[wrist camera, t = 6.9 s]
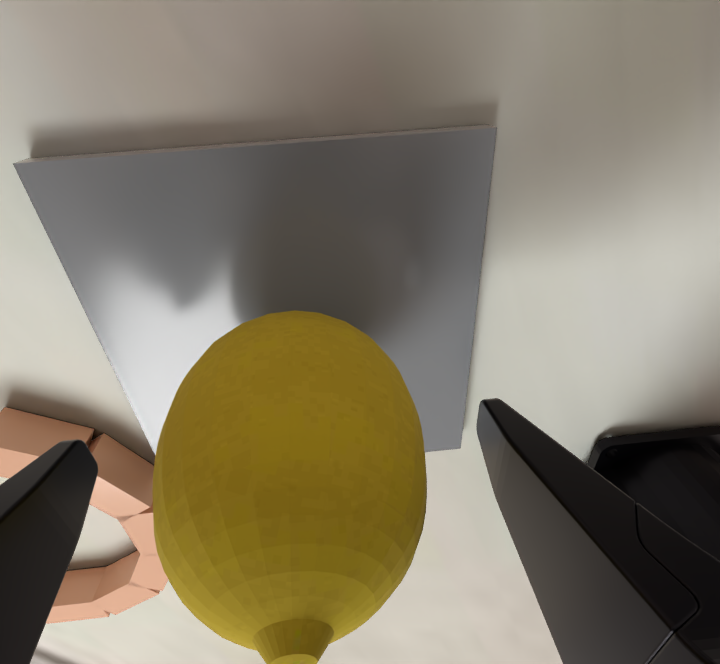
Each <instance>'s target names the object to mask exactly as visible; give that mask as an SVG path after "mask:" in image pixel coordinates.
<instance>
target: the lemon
mask: <svg viewBox="0 0 720 664" xmlns="http://www.w3.org/2000/svg"><path fill="white" fill-rule="evenodd" d="M152 495H153V523H154V537H155V543H156V549H157V553H158V556H159V559H160V562H161V564H162V567H163V570H164V572H165V574H166V576H167V578H168V579H169V581H170V583H171V585H172V587H173V588H174V590H175V591H176V593H177V595H178V596H179V598H180V599H181V601H182V603H183V604H184V605H185V606H186V607H187V608H188V609H189V610H190V611H191V612H192V613H193V614H194V616H195V617H196V618H198V619H199V620H200V621H201V622H202V623H204V624H205V625H206V626H207V627H208V628H210V629H211V630H213V631H214V632H215V633H217V634H218V635H219V636H221V637H222V638H225V639H227V640H229V641H231V642H233V643H236V644H238V645H241V646H244V647H246V648H249V649H253V650H257V651H258V652H259V653H260V655H261V656H262V658H263V659H264V661H265V662H266V664H317V662H318V661H319V659H320V657H321V656H322V654H323V653H324V651H325V649H326V648H327V646H328V644H330V643H332V642H334V641H336V640H338V639H340V638H342V637H344V636H345V635H347V634H349V633H350V632H352V631H354V630H355V629H357V628H358V627H359V626H361V625H362V624H364V623H365V622H366V621H367V620H368V619H369V618H370V617H372V616H373V615H374V614H375V613H376V612H377V611H378V610H379V609H380V608H381V607H382V605H383V604H384V603H385V602H386V600H387V599H388V598H389V597H390V595H391V594H392V593H393V592H394V590H395V589H396V588H397V587H398V585H399V584H400V583H401V581H402V579H403V578H404V576H405V574H406V572H407V571H408V569H409V567H410V565H411V562H412V560H413V557H414V554H415V551H416V548H417V545H418V542H419V539H420V536H421V533H422V530H423V524H424V519H425V513H426V498H427V479H426V465H425V451H424V440H423V434H422V428H421V423H420V419H419V415H418V412H417V410H416V407H415V404H414V402H413V399H412V397H411V395H410V393H409V391H408V389H407V386H406V384H405V382H404V380H403V378H402V376H401V374H400V372H399V370H398V369H397V367H396V365H395V364H394V362H393V361H392V360H391V359H390V358H389V357H388V355H387V354H386V353H385V352H384V351H383V350H382V349H381V348H380V347H379V346H378V345H377V344H376V343H375V341H374V340H373V339H372V338H370V337H369V336H368V335H367V334H365V333H363V332H362V331H360V330H359V329H357V328H355V327H354V326H352V325H350V324H349V323H347V322H346V321H343V320H340V319H337V318H334V317H331V316H328V315H324V314H321V313H317V312H307V311H296V310H294V311H286V312H278V313H270V314H267V315H264V316H261V317H258V318H255V319H253V320H250V321H247V322H244V323H242V324H240V325H239V326H237V327H236V328H234V329H233V330H231V331H230V332H228V333H227V334H225V335H224V336H222V337H221V338H219V339H218V340H216V341H215V342H214V343H213V344H212V345H211V346H210V347H209V348H208V349H207V350H206V351H205V353H204V354H203V355H202V356H201V357H200V358H199V360H198V361H197V362H196V363H195V364H194V365H193V367H192V368H191V369H190V370H189V372H188V373H187V375H186V376H185V377H184V379H183V381H182V383H181V384H180V386H179V388H178V390H177V392H176V394H175V397H174V399H173V402H172V404H171V407H170V409H169V412H168V414H167V417H166V419H165V422H164V424H163V427H162V430H161V434H160V437H159V440H158V445H157V450H156V455H155V463H154V471H153V490H152Z"/></svg>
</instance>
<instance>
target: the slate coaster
mask: <svg viewBox="0 0 720 664" xmlns="http://www.w3.org/2000/svg"><path fill="white" fill-rule="evenodd" d="M496 131H497V128H496V127H494V126H491V125H474V126H461V127H447V128H434V129H420V130H407V131H393V132H380V133H366V134H352V135H339V136H325V137H312V138H298V139H285V140H271V141H257V142H244V143H230V144H217V145H203V146H190V147H176V148H162V149H149V150H135V151H122V152H108V153H95V154H81V155H67V156H54V157H40V158H28V159H25V160H22V161H19V162H16V163H13V165H14V167H15V169H16V171H17V173H18V175H19V177H20V179H21V181H22V183H23V185H24V187H25V189H26V191H27V193H28V196H29V198H30V200H31V202H32V204H33V206H34V208H35V210H36V212H37V214H38V216H39V218H40V220H41V222H42V224H43V226H44V228H45V230H46V232H47V235H48V237H49V239H50V241H51V243H52V245H53V247H54V249H55V251H56V253H57V255H58V257H59V259H60V261H61V263H62V265H63V267H64V269H65V271H66V274H67V276H68V278H69V280H70V282H71V284H72V286H73V288H74V290H75V292H76V294H77V296H78V298H79V300H80V302H81V304H82V306H83V308H84V311H85V313H86V315H87V317H88V319H89V321H90V323H91V325H92V327H93V329H94V331H95V333H96V335H97V337H98V339H99V341H100V343H101V345H102V347H103V350H104V352H105V354H106V356H107V358H108V360H109V362H110V364H111V366H112V368H113V370H114V372H115V374H116V376H117V378H118V380H119V382H120V384H121V387H122V389H123V391H124V393H125V395H126V397H127V399H128V401H129V403H130V405H131V407H132V409H133V411H134V413H135V415H136V417H137V419H138V421H139V423H140V426H141V428H142V430H143V432H144V434H145V436H146V438H147V440H148V442H149V444H150V446H151V448H152V450H153V452H154V454H155V455H156V450H157V445H158V440H159V437H160V434H161V430H162V427H163V424H164V422H165V419H166V417H167V414H168V412H169V409H170V407H171V404H172V402H173V399H174V397H175V394H176V392H177V390H178V388H179V386H180V384H181V383H182V381H183V379H184V377H185V376H186V375H187V373H188V372H189V370H190V369H191V368H192V367H193V365H194V364H195V363H196V362H197V361H198V360H199V358H200V357H201V356H202V355H203V354H204V353H205V351H206V350H207V349H208V348H209V347H210V346H211V345H212V344H213V343H214V342H215V341H216V340H218V339H219V338H221V337H222V336H224V335H225V334H227V333H228V332H230V331H231V330H233V329H234V328H236V327H237V326H239V325H240V324H242V323H244V322H247V321H250V320H253V319H255V318H258V317H261V316H264V315H267V314H270V313H278V312H286V311H294V310H296V311H307V312H317V313H321V314H324V315H328V316H331V317H334V318H337V319H340V320H343V321H346V322H347V323H349V324H350V325H352V326H354V327H355V328H357V329H359V330H360V331H362V332H363V333H365V334H367V335H368V336H369V337H370V338H372V339H373V340H374V341H375V343H376V344H377V345H378V346H379V347H380V348H381V349H382V350H383V351H384V352H385V353H386V354H387V355H388V357H389V358H390V359H391V360H392V361H393V362H394V364H395V365H396V367H397V369H398V370H399V372H400V374H401V376H402V378H403V380H404V382H405V384H406V386H407V389H408V391H409V393H410V395H411V397H412V399H413V402H414V404H415V407H416V410H417V412H418V415H419V419H420V423H421V428H422V434H423V440H424V451H425V452H430V451H440V450H449V449H459V448H461V440H462V431H463V422H464V413H465V404H466V396H467V387H468V378H469V369H470V360H471V352H472V343H473V334H474V325H475V316H476V307H477V299H478V290H479V281H480V272H481V263H482V255H483V246H484V237H485V228H486V219H487V210H488V202H489V193H490V184H491V175H492V166H493V158H494V149H495V140H496Z"/></svg>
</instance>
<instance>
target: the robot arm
mask: <svg viewBox="0 0 720 664" xmlns="http://www.w3.org/2000/svg"><path fill="white" fill-rule="evenodd" d="M477 434H478V438H479V442H480V445H481V449H482V452H483V456H484V459H485V463H486V466H487V470H488V474H489V477H490V481H491V484H492V488H493V491H494V494H495V497H496V500H497V502H498V505H499V508H500V510H501V512H502V515H503V517H504V520H505V522H506V525H507V527H508V530H509V532H510V534H511V537H512V539H513V542H514V544H515V547H516V549H517V552H518V554H519V557H520V559H521V561H522V564H523V566H524V569H525V571H526V574H527V576H528V579H529V581H530V583H531V586H532V588H533V591H534V593H535V596H536V598H537V601H538V603H539V606H540V608H541V610H542V613H543V615H544V618H545V620H546V623H547V625H548V628H549V630H550V632H551V635H552V637H553V640H554V642H555V645H556V647H557V650H558V652H559V655H560V657H561V659H562V662H563V664H720V426H714V427H704V428H695V429H685V430H676V431H666V432H656V433H647V434H637V435H628V436H618V437H609V438H605V439H602V440H600V441H599V442H598V443H597V444H596V445H595V446H594V449H593V451H592V454H591V457H590V459H589V462H588V465H587V464H585V463H584V462H583V461H581V460H580V459H579V458H577V457H576V456H575V455H573V454H572V453H571V452H569V451H568V450H567V449H566V448H564V447H563V446H562V445H560V444H559V443H558V442H556V441H555V440H554V439H552V438H551V437H550V436H548V435H547V434H546V433H544V432H543V431H542V430H540V429H539V428H538V427H536V426H535V425H534V424H532V423H531V422H530V421H528V420H527V419H526V418H524V417H523V416H522V415H520V414H519V413H518V412H517V411H515V410H514V409H513V408H511V407H510V406H509V405H507V404H506V403H505V402H503V401H502V400H500V399H497V398H495V399H484V400H482V401H481V402H480V405H479V412H478V419H477ZM97 475H98V464H97V462H96V460H95V458H94V457H93V455H92V453H91V452H90V450H89V448H88V447H87V445H86V443H85V442H84V441H82V440H79V439H75V440H65V441H61V442H59V443H57V444H56V445H54V446H53V447H52V448H50V449H49V450H48V451H46V452H45V453H43V454H42V455H41V456H39V457H38V458H37V459H35V460H34V461H33V462H31V463H30V464H28V465H27V466H26V467H24V468H23V469H22V470H20V471H19V472H18V473H16V474H15V475H13V476H12V477H11V478H9V479H8V480H7V481H5V482H4V483H2V484H1V485H0V664H30V662H31V659H32V657H33V654H34V652H35V649H36V647H37V644H38V641H39V639H40V636H41V634H42V631H43V629H44V626H45V624H46V621H47V619H48V616H49V614H50V611H51V609H52V606H53V604H54V601H55V599H56V596H57V594H58V591H59V589H60V586H61V584H62V581H63V579H64V576H65V574H66V571H67V569H68V566H69V564H70V561H71V559H72V556H73V554H74V551H75V548H76V546H77V543H78V540H79V537H80V534H81V531H82V528H83V524H84V521H85V517H86V514H87V510H88V506H89V503H90V499H91V496H92V492H93V489H94V485H95V482H96V478H97Z"/></svg>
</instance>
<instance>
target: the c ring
mask: <svg viewBox="0 0 720 664" xmlns="http://www.w3.org/2000/svg"><path fill="white" fill-rule="evenodd" d="M93 432H94V429H92V428H88V427H84V426H80V425H76V424H72V423H68V422H64V421H60V420H56V419H51V418H47V417H43V416H39V415H35V414H31V413H27V412H23V411H19V410H15V409H11V408H7V407H5V408H4V409H3V410H2V411H1V412H0V476H1V477H6V478H11V477H12V476H13V475H15V474H16V473H18V472H19V471H20V470H22V469H23V468H24V467H26V466H27V465H28V464H30V463H31V462H33V461H34V460H35V459H37V458H38V457H39V456H41V455H42V454H43V453H45V452H46V451H48V450H49V449H50V448H52V447H53V446H54V445H56V444H57V443H59V442H61V441H65V440H75V439H79V440H82V441H84V442H85V443H86V445H87V447H88V448H89V450H90V452H91V453H92V455H93V457H94V458H95V460H96V462H97V464H98V475H97V478H96V482H95V485H94V489H93V492H92V496H91V499H90V503H89V504H90V505H92V506H94V507H96V508H97V509H99V510H101V511H103V512H105V513H107V514H108V515H110V516H112V517H114V518H116V519H118V520H119V522H120V523H121V525H122V526H123V528H124V529H125V531H126V533H127V534H128V536H129V537H130V539H131V540H132V542H133V544H134V545H135V547H136V548H137V551H135V552H133V553H132V554H130V555H128V556H126V557H124V558H122V559H120V560H118V561H116V562H114V563H113V564H111V565H109V566H107V567H99V568H90V569H81V570H72V571H66V574H65V576H64V579H63V581H62V584H61V586H60V589H59V591H58V594H57V596H56V599H55V601H54V604H53V606H52V609H51V611H50V614H49V616H48V619H47V621H46V623H47V624H49V623H58V622H66V621H75V620H84V619H92V618H101V617H109V615H110V613H112V614H115V615H116V614H118V613H120V612H122V611H124V610H127V609H129V608H131V607H133V606H135V605H137V604H139V603H141V602H143V601H145V600H147V599H149V598H152V597H154V596H156V595H158V594H159V592H160V590H162V591H163V589H164V587H165V585H166V583H167V581H168V578H167V576H166V574H165V572H164V570H163V567H162V564H161V562H160V559H159V556H158V553H157V549H156V543H155V537H154V523H153V495H152V490H153V471H154V466H153V465H152V464H150V463H149V462H147V461H146V460H144V459H143V458H141V457H140V456H138V455H137V454H135V453H134V452H132V451H131V450H129V449H127V448H126V447H124V446H123V445H121V444H120V443H118V442H117V441H115V440H114V439H112V438H111V437H109V436H108V435H106V434H105V433H103V434H102V435H100V436H99V437H97V438H95V439H94V440H92V436H93ZM91 440H92V441H91Z"/></svg>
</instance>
